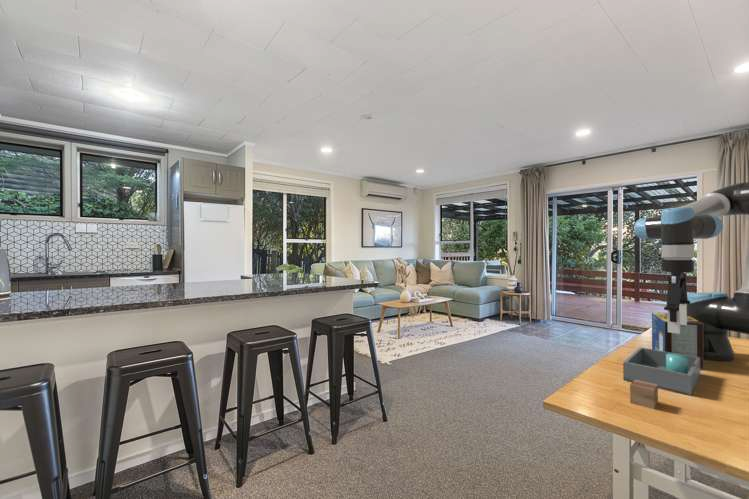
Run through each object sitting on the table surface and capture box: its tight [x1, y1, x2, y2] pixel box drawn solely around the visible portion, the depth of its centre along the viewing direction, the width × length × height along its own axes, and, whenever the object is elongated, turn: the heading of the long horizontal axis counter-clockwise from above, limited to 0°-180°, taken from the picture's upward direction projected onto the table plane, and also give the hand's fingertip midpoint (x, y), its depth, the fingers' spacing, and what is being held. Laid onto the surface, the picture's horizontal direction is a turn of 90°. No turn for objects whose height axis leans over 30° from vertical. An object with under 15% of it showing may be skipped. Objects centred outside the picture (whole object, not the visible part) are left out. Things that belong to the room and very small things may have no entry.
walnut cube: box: [629, 380, 659, 410], centre depth 93 cm, size 5×5×5 cm
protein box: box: [651, 312, 704, 370], centre depth 125 cm, size 10×15×16 cm
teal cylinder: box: [666, 353, 688, 374], centre depth 107 cm, size 5×5×7 cm
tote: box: [622, 347, 701, 397], centre depth 110 cm, size 22×16×6 cm
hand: (677, 328), depth 107 cm, fingers open, 13 cm apart
